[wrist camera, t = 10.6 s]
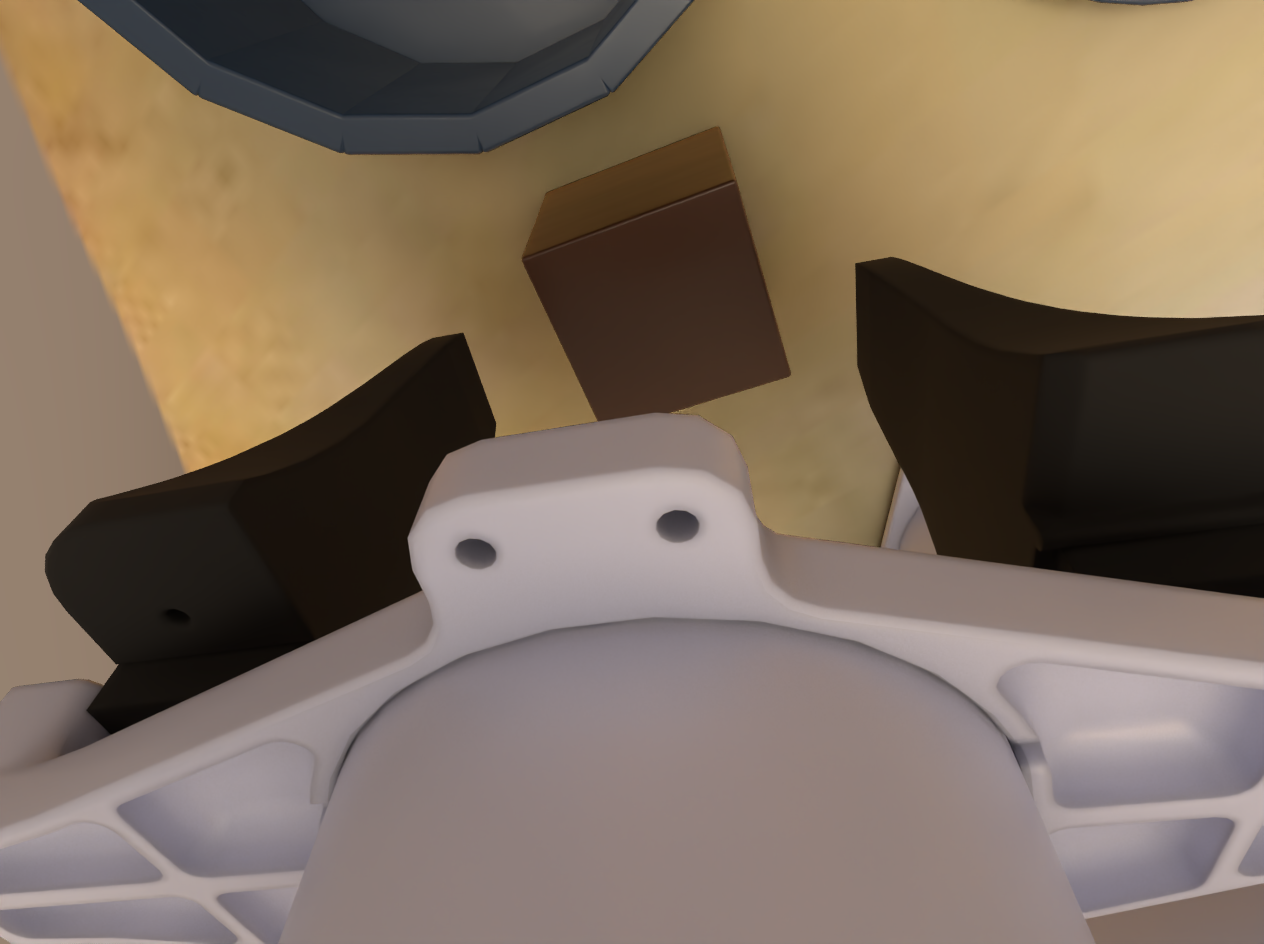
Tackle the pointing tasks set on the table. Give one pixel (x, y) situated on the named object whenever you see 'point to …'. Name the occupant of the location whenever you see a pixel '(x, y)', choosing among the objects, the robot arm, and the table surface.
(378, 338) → the table surface
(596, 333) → the block
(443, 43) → the pot
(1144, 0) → the lid
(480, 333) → the table surface
